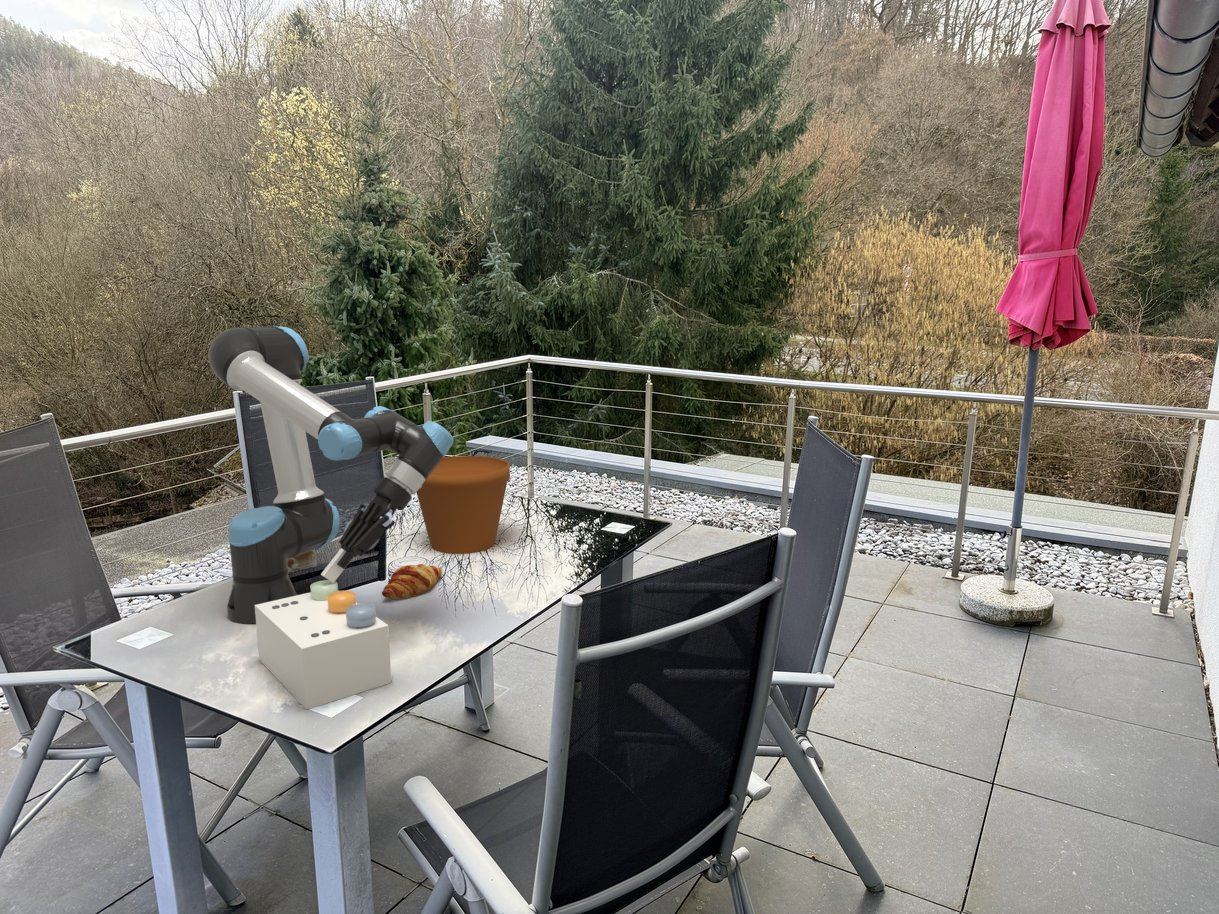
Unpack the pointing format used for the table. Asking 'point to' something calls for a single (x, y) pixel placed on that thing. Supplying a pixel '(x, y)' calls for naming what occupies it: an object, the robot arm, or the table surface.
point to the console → (320, 650)
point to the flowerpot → (464, 503)
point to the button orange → (341, 601)
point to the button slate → (360, 615)
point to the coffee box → (302, 561)
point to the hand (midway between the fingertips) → (327, 578)
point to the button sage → (322, 589)
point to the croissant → (411, 581)
